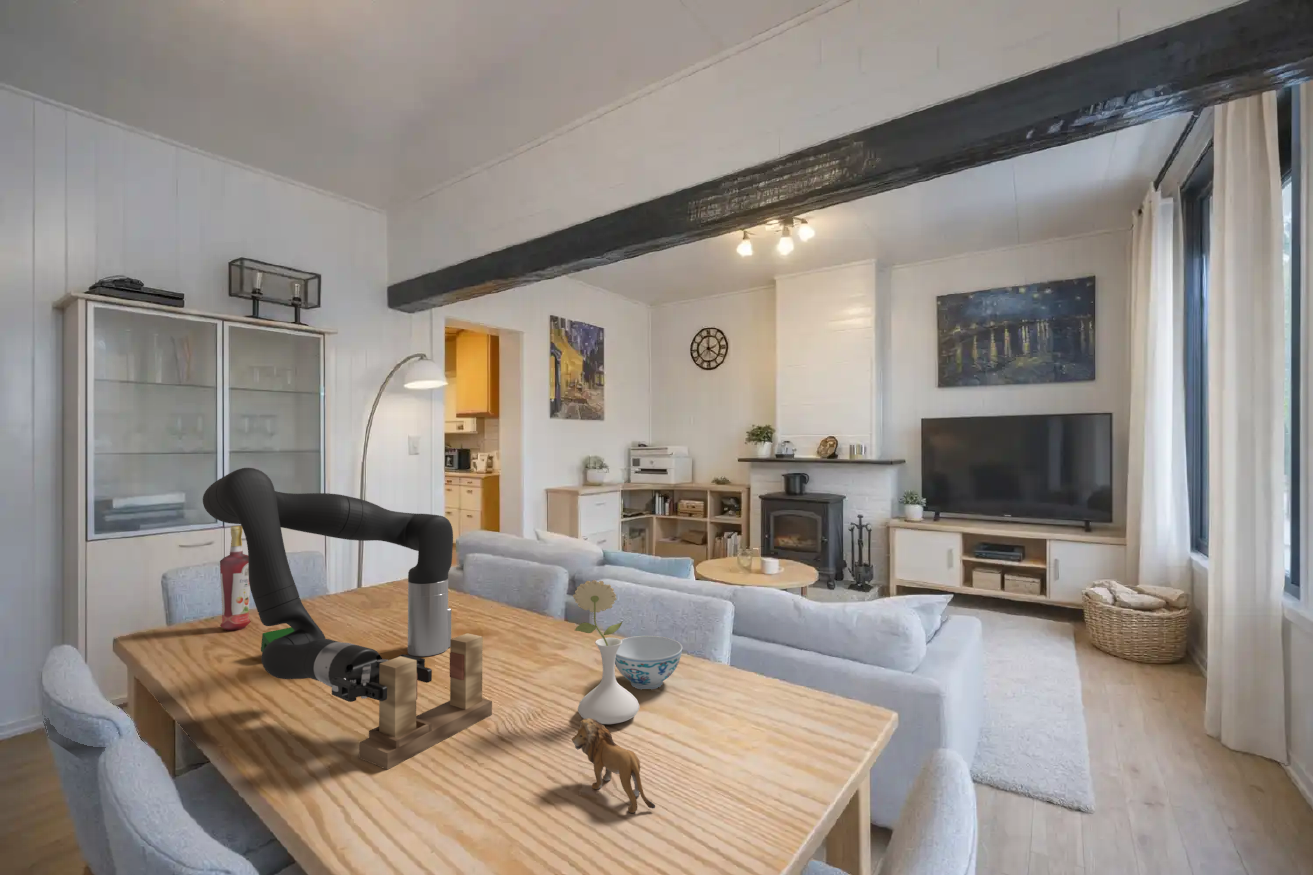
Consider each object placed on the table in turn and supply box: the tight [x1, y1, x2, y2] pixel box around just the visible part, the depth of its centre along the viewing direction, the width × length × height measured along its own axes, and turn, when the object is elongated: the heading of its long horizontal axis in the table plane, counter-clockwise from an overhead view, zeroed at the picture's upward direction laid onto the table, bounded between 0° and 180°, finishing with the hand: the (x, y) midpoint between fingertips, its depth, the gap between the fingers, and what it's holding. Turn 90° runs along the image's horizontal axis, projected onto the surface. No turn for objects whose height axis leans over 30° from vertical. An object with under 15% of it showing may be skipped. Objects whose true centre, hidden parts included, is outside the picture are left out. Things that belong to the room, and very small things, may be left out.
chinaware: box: [615, 635, 683, 690], centre depth 127 cm, size 15×15×8 cm
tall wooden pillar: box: [378, 656, 418, 738], centre depth 99 cm, size 4×4×12 cm
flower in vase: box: [572, 579, 640, 725], centre depth 112 cm, size 13×11×25 cm
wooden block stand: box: [358, 632, 493, 770], centre depth 104 cm, size 22×7×14 cm, turn 150°
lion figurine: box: [571, 718, 656, 814], centre depth 87 cm, size 15×5×9 cm, turn 52°
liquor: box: [219, 525, 251, 632], centre depth 165 cm, size 7×7×28 cm
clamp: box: [260, 626, 294, 654], centre depth 145 cm, size 12×6×9 cm, turn 134°
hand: (408, 684), depth 98 cm, fingers open, 8 cm apart
